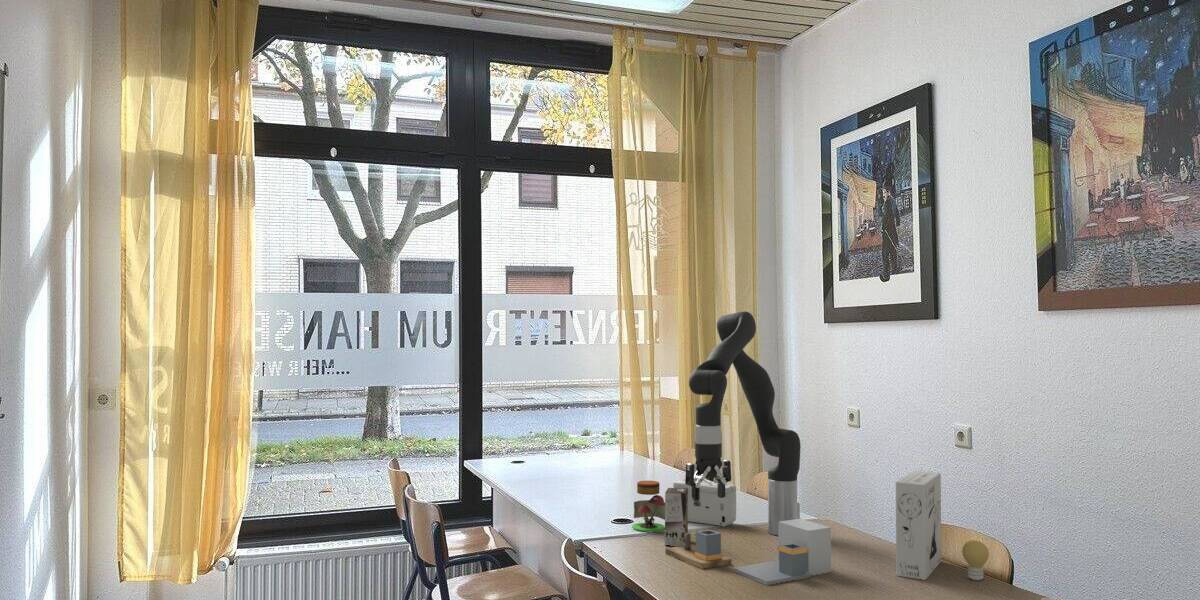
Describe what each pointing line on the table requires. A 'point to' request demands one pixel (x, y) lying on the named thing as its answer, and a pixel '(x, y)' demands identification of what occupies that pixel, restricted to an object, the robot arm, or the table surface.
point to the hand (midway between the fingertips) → (708, 499)
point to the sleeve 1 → (708, 545)
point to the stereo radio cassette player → (710, 503)
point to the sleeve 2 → (792, 559)
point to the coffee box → (676, 516)
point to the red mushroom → (649, 507)
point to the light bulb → (975, 558)
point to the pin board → (688, 555)
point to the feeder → (801, 534)
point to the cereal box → (918, 524)
